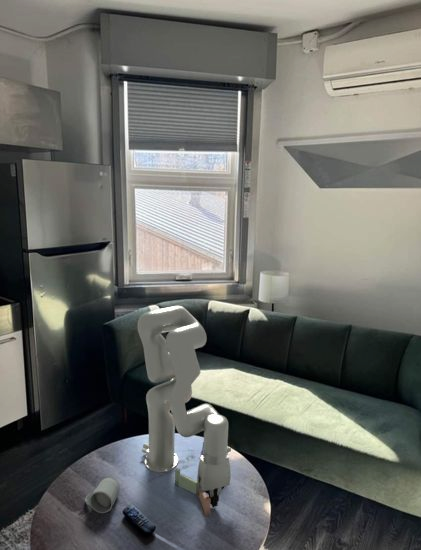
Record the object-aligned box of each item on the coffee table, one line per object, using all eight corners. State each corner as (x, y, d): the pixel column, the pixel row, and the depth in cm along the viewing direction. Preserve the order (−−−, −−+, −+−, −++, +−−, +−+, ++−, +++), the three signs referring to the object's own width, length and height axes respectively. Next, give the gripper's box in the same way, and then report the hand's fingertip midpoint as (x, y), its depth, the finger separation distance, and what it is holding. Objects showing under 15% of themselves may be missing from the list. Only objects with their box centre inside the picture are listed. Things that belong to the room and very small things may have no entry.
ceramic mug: (121, 495, 135) (120, 476, 133) (112, 515, 127) (111, 494, 125) (91, 492, 136) (90, 472, 135) (80, 510, 128) (79, 490, 127)
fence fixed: (173, 484, 140) (174, 470, 139) (176, 481, 141) (176, 467, 140) (195, 494, 135) (195, 480, 134) (198, 491, 137) (198, 477, 136)
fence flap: (196, 493, 136) (196, 478, 135) (201, 492, 137) (202, 477, 136) (205, 516, 127) (205, 501, 125) (210, 515, 127) (211, 500, 126)
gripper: (231, 442, 132) (229, 490, 136) (188, 451, 127) (187, 501, 131) (241, 456, 126) (239, 506, 130) (196, 467, 120) (195, 518, 124)
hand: (213, 503), depth 130 cm, fingers closed
